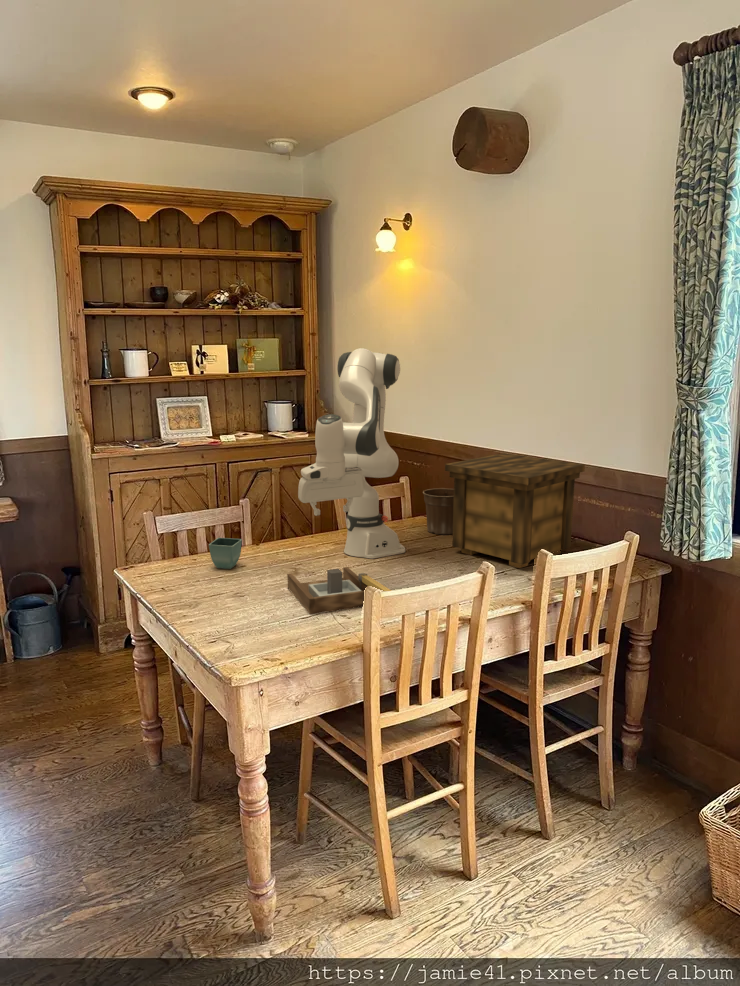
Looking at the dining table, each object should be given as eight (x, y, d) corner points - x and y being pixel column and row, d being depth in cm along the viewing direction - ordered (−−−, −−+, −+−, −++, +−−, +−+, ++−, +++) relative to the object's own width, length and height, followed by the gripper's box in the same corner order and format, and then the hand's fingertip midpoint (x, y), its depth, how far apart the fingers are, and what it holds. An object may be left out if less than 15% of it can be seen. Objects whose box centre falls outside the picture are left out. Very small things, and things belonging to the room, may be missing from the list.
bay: (348, 580, 245) (348, 565, 244) (375, 605, 223) (375, 589, 222) (287, 587, 237) (287, 572, 236) (309, 614, 216) (309, 597, 215)
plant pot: (417, 526, 311) (418, 488, 307) (455, 525, 314) (456, 487, 310) (427, 537, 295) (428, 497, 292) (467, 535, 298) (468, 495, 295)
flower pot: (233, 571, 253) (232, 545, 251) (209, 570, 255) (208, 544, 253) (243, 563, 261) (242, 538, 259) (219, 562, 263) (218, 537, 261)
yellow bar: (356, 579, 229) (356, 574, 229) (365, 578, 230) (365, 572, 230) (385, 598, 213) (385, 592, 213) (394, 597, 214) (394, 591, 214)
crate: (443, 552, 275) (445, 464, 268) (500, 534, 299) (503, 453, 292) (523, 574, 251) (528, 478, 244) (579, 553, 275) (584, 464, 268)
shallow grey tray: (349, 588, 233) (349, 563, 231) (361, 600, 223) (361, 574, 221) (308, 593, 228) (308, 568, 226) (319, 606, 218) (319, 579, 216)
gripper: (359, 464, 234) (359, 506, 238) (295, 470, 227) (297, 514, 231) (366, 468, 229) (367, 512, 232) (301, 474, 221) (303, 519, 225)
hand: (331, 513), depth 231 cm, fingers open, 8 cm apart
